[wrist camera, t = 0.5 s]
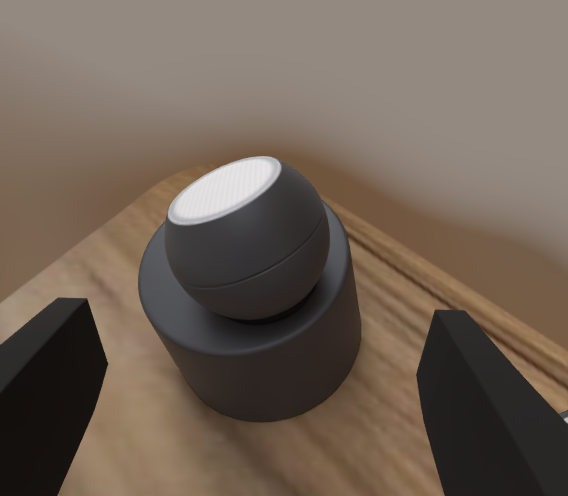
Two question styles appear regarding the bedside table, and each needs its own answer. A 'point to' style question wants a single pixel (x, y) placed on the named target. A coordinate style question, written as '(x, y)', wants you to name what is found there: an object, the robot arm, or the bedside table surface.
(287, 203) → the light fixture
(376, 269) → the bedside table surface
